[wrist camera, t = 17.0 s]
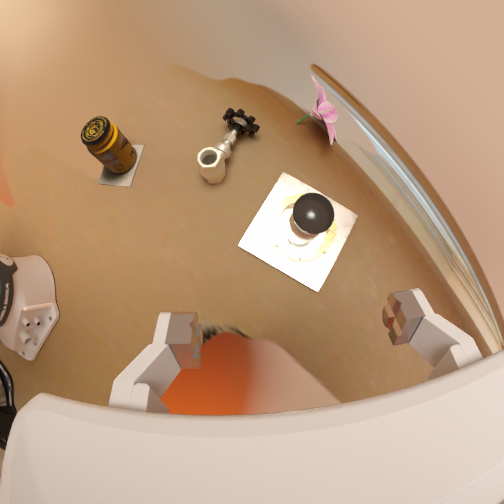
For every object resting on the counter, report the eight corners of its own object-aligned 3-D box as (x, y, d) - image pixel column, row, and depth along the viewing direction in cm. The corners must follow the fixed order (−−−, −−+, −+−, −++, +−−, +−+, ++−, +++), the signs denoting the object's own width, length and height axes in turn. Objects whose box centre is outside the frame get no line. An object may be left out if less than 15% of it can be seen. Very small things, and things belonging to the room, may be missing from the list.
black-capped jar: (307, 252, 42) (323, 241, 33) (277, 236, 42) (285, 220, 33) (322, 223, 43) (340, 205, 33) (293, 207, 43) (304, 185, 34)
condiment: (144, 145, 46) (118, 110, 34) (130, 187, 45) (98, 158, 33) (113, 144, 46) (84, 112, 35) (99, 184, 45) (64, 158, 33)
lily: (316, 167, 46) (356, 143, 38) (265, 122, 43) (299, 89, 34) (332, 132, 51) (366, 109, 43) (289, 93, 48) (320, 64, 39)
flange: (316, 292, 42) (321, 292, 39) (238, 246, 43) (237, 242, 40) (355, 217, 44) (363, 211, 40) (282, 174, 45) (284, 165, 41)
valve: (225, 193, 45) (259, 137, 46) (221, 177, 38) (260, 116, 39) (191, 177, 45) (227, 124, 47) (182, 160, 39) (223, 102, 40)
